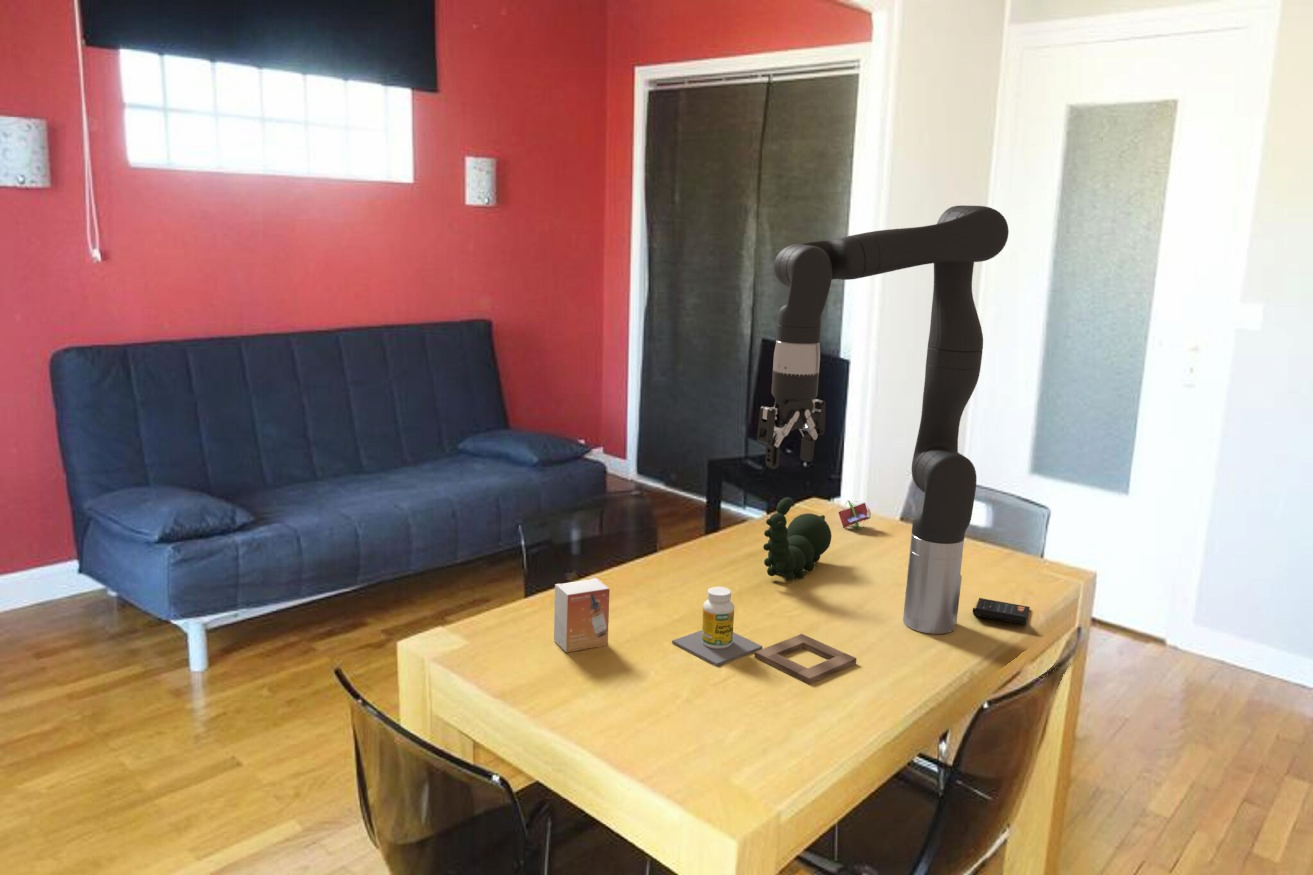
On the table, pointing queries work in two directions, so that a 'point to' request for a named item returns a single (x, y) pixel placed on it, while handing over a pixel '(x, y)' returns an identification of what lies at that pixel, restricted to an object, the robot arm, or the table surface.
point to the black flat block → (1001, 611)
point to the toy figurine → (795, 542)
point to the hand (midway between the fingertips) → (789, 464)
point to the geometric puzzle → (854, 515)
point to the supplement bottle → (718, 618)
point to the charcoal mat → (717, 656)
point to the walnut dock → (808, 675)
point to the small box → (581, 615)
